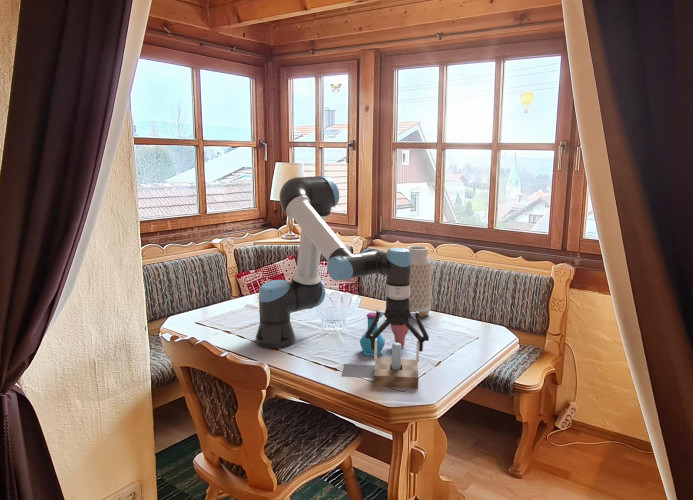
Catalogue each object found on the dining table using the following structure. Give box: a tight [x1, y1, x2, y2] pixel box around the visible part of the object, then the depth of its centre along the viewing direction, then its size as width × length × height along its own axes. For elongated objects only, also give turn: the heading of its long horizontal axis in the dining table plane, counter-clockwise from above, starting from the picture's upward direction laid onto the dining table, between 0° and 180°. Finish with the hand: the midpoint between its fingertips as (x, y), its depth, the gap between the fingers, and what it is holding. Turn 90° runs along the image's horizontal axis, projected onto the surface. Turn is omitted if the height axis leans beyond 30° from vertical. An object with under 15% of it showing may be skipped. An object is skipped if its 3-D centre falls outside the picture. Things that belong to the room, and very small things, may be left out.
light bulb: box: [390, 324, 410, 348], centre depth 200 cm, size 7×7×12 cm
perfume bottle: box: [359, 312, 386, 356], centre depth 194 cm, size 9×9×15 cm
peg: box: [391, 342, 402, 370], centre depth 173 cm, size 3×3×12 cm
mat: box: [340, 363, 375, 379], centre depth 179 cm, size 12×10×1 cm
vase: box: [406, 245, 432, 318], centre depth 236 cm, size 14×14×31 cm
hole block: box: [373, 357, 419, 389], centre depth 174 cm, size 14×14×4 cm
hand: (396, 359), depth 173 cm, fingers open, 13 cm apart
